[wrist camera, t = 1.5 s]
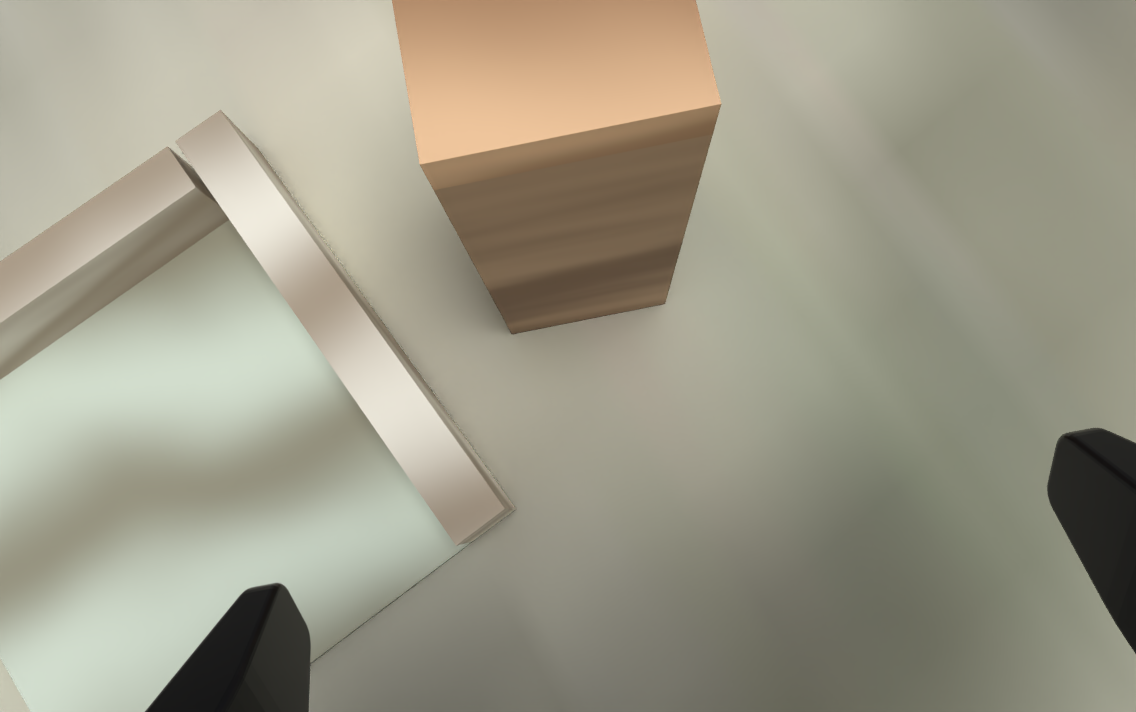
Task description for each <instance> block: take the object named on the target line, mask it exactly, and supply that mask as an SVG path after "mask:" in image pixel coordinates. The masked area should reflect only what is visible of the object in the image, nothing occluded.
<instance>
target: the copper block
mask: <svg viewBox="0 0 1136 712" xmlns="http://www.w3.org/2000/svg"><path fill="white" fill-rule="evenodd" d="M392 3H393V9H394V15H395V21H396V27H397V32H398V38H399V44H400V50H401V56H402V62H403V68H404V74H405V80H406V86H407V92H408V98H409V103H410V109H411V115H412V121H413V127H414V133H415V139H416V145H417V151H418V157H419V163H420V166H421V168H422V169H423V171H424V173H425V175H426V177H427V179H428V180H429V182H430V184H431V186H432V188H433V190H434V192H435V193H436V195H437V197H438V199H439V201H440V203H441V204H442V206H443V208H444V210H445V212H446V214H447V215H448V217H449V219H450V221H451V223H452V225H453V226H454V228H455V230H456V232H457V234H458V236H459V238H460V239H461V241H462V243H463V245H464V247H465V249H466V250H467V252H468V254H469V256H470V258H471V260H472V261H473V263H474V265H475V267H476V269H477V271H478V273H479V274H480V276H481V278H482V280H483V282H484V284H485V285H486V287H487V289H488V291H489V293H490V295H491V296H492V298H493V300H494V302H495V304H496V306H497V308H498V309H499V311H500V313H501V315H502V317H503V319H504V320H505V322H506V324H507V326H508V328H509V330H510V331H511V333H512V334H516V333H521V332H526V331H531V330H536V329H541V328H546V327H551V326H556V325H561V324H566V323H571V322H576V321H581V320H586V319H591V318H596V317H601V316H606V315H611V314H616V313H621V312H626V311H631V310H636V309H641V308H646V307H651V306H656V305H661V304H665V302H666V298H667V295H668V291H669V287H670V284H671V280H672V277H673V273H674V270H675V266H676V263H677V259H678V255H679V252H680V248H681V245H682V241H683V238H684V234H685V231H686V227H687V224H688V220H689V216H690V213H691V209H692V206H693V202H694V199H695V195H696V192H697V188H698V184H699V181H700V177H701V174H702V170H703V167H704V163H705V160H706V156H707V153H708V149H709V145H710V142H711V138H712V135H713V131H714V128H715V124H716V121H717V117H718V113H719V110H720V106H721V101H720V97H719V93H718V89H717V85H716V81H715V77H714V73H713V69H712V65H711V61H710V56H709V52H708V48H707V44H706V40H705V36H704V32H703V28H702V24H701V20H700V16H699V12H698V8H697V4H696V0H392Z"/></svg>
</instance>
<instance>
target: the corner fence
mask: <svg viewBox="0 0 1136 712" xmlns="http://www.w3.org/2000/svg"><path fill="white" fill-rule="evenodd" d="M175 142H176V143H177V145H178V146H179V148H180V149H181V151H182V152H183V153H184V155H185V156H186V158H187V159H188V161H189V162H190V163H191V165H192V166H193V167H192V166H191V165H189V164H188V163H187V162H186V161H184V160H183V159H182V158H181V157H180V156H178V155H177V154H176V153H175V152H174V151H172V150H171V149H170V148H169V147H166V148H164V149H163V150H162V151H160V152H159V153H157V154H156V155H154V156H153V157H151V158H150V159H148V160H147V161H146V162H144V163H143V164H141V165H140V166H138V167H137V168H135V169H134V170H132V171H131V172H130V173H128V174H127V175H125V176H124V177H122V178H121V179H119V180H118V181H117V182H115V183H114V184H112V185H111V186H109V187H108V188H106V189H105V190H103V191H102V192H101V193H99V194H98V195H96V196H95V197H93V198H92V199H90V200H89V201H87V202H86V203H85V204H83V205H82V206H80V207H79V208H77V209H76V210H74V211H73V212H71V213H70V214H69V215H67V216H66V217H64V218H63V219H61V220H60V221H58V222H57V223H55V224H54V225H53V226H51V227H50V228H48V229H47V230H45V231H44V232H42V233H41V234H39V235H38V236H37V237H35V238H34V239H32V240H31V241H29V242H28V243H26V244H25V245H23V246H22V247H21V248H19V249H18V250H16V251H15V252H13V253H12V254H10V255H9V256H7V257H6V258H5V259H3V260H2V261H0V658H1V660H2V662H3V664H4V666H5V667H6V669H7V671H8V673H9V674H10V676H11V678H12V680H13V682H14V683H15V685H16V687H17V689H18V690H19V692H20V694H21V696H22V697H23V699H24V701H25V703H26V705H27V706H28V708H29V710H30V712H145V711H146V709H147V708H148V707H149V706H150V704H151V703H152V702H153V701H154V700H155V698H156V697H157V696H158V695H159V693H160V692H161V691H162V690H163V689H164V687H165V686H166V685H167V684H168V682H169V681H170V680H171V679H172V678H173V676H174V675H175V674H176V673H177V671H178V670H179V669H180V668H181V667H182V665H183V664H184V663H185V662H186V660H187V659H188V658H189V657H190V656H191V654H192V653H193V652H194V651H195V649H196V648H197V647H198V646H199V645H200V643H201V642H202V641H203V640H204V638H205V637H206V636H207V635H208V634H209V632H210V631H211V630H212V629H213V627H214V626H215V625H216V624H217V623H218V621H219V620H220V619H221V618H222V616H223V615H224V614H225V613H226V612H227V610H228V609H229V608H230V607H231V605H232V604H233V603H234V602H235V601H236V599H237V598H238V597H239V596H240V595H241V594H242V593H243V592H244V591H245V590H246V589H248V588H251V587H256V586H261V585H266V584H272V583H281V584H283V585H284V586H286V588H287V589H288V591H289V592H290V594H291V596H292V598H293V600H294V602H295V604H296V605H297V607H298V609H299V611H300V613H301V615H302V617H303V618H304V620H305V622H306V624H307V627H308V630H309V633H310V640H311V658H310V663H312V662H313V661H314V660H316V659H317V658H318V657H320V656H321V655H322V654H324V653H325V652H326V651H328V650H329V649H330V648H332V647H333V646H334V645H336V644H337V643H338V642H340V641H341V640H342V639H344V638H345V637H346V636H348V635H349V634H350V633H352V632H353V631H354V630H356V629H357V628H358V627H360V626H361V625H362V624H364V623H365V622H366V621H368V620H369V619H370V618H372V617H373V616H374V615H376V614H377V613H378V612H380V611H381V610H382V609H384V608H385V607H386V606H388V605H389V604H390V603H392V602H393V601H394V600H396V599H397V598H398V597H400V596H401V595H402V594H403V593H405V592H406V591H407V590H409V589H410V588H411V587H413V586H414V585H415V584H417V583H418V582H419V581H421V580H422V579H423V578H425V577H426V576H427V575H429V574H430V573H431V572H433V571H434V570H435V569H437V568H438V567H439V566H441V565H442V564H443V563H445V562H446V561H447V560H449V559H450V558H451V557H453V556H454V555H455V554H457V553H458V552H459V551H461V550H462V549H463V548H465V547H466V546H467V545H469V544H470V543H471V542H473V541H474V540H475V539H477V538H478V537H479V536H481V535H482V534H483V533H485V532H486V531H487V530H489V529H490V528H491V527H493V526H494V525H495V524H497V523H498V522H499V521H501V520H502V519H503V518H505V517H506V516H507V515H509V514H510V513H511V512H512V511H514V510H515V509H516V508H515V507H514V505H513V504H512V503H511V501H510V500H509V498H508V497H507V496H506V494H505V493H504V491H503V490H502V489H501V487H500V486H499V484H498V483H497V482H496V480H495V479H494V477H493V476H492V475H491V473H490V472H489V470H488V469H487V468H486V466H485V465H484V463H483V462H482V461H481V459H480V458H479V456H478V455H477V454H476V452H475V451H474V449H473V448H472V447H471V445H470V444H469V443H468V441H467V440H466V438H465V437H464V436H463V434H462V433H461V431H460V430H459V429H458V427H457V426H456V424H455V423H454V422H453V420H452V419H451V417H450V416H449V415H448V413H447V412H446V410H445V409H444V408H443V406H442V405H441V403H440V402H439V401H438V399H437V398H436V396H435V395H434V394H433V392H432V391H431V389H430V388H429V387H428V385H427V384H426V383H425V381H424V380H423V378H422V377H421V376H420V374H419V373H418V371H417V370H416V369H415V367H414V366H413V364H412V363H411V362H410V360H409V359H408V357H407V356H406V355H405V353H404V352H403V350H402V349H401V348H400V346H399V345H398V343H397V342H396V341H395V339H394V338H393V336H392V335H391V334H390V332H389V331H388V329H387V328H386V327H385V325H384V324H383V323H382V321H381V320H380V318H379V317H378V316H377V314H376V313H375V311H374V310H373V309H372V307H371V306H370V304H369V303H368V302H367V300H366V299H365V297H364V296H363V295H362V293H361V292H360V290H359V289H358V288H357V286H356V285H355V283H354V282H353V281H352V279H351V278H350V276H349V275H348V274H347V272H346V271H345V270H344V268H343V267H342V265H341V264H340V263H339V261H338V260H337V258H336V257H335V256H334V254H333V253H332V251H331V250H330V249H329V247H328V246H327V244H326V243H325V242H324V240H323V239H322V237H321V236H320V235H319V233H318V232H317V230H316V229H315V228H314V226H313V225H312V223H311V222H310V221H309V219H308V218H307V216H306V215H305V214H304V212H303V211H302V210H301V208H300V207H299V205H298V204H297V203H296V201H295V200H294V198H293V197H292V196H291V194H290V193H289V191H288V190H287V189H286V187H285V186H284V184H283V183H282V182H281V180H280V179H279V177H278V176H277V175H276V173H275V172H274V170H273V169H272V168H271V166H270V165H269V163H268V162H267V161H266V159H265V158H264V156H263V155H262V154H261V152H260V151H259V150H258V148H257V147H256V146H255V145H254V144H253V143H252V142H251V141H250V140H249V139H248V138H247V137H246V136H245V135H244V134H243V133H242V132H241V131H240V130H239V129H238V128H237V127H236V126H235V125H234V124H233V122H232V121H231V120H230V119H229V118H228V117H227V116H226V115H225V114H224V113H223V112H222V111H221V110H220V111H218V112H217V113H215V114H214V115H212V116H211V117H210V118H208V119H207V120H205V121H204V122H202V123H201V124H199V125H198V126H196V127H195V128H194V129H192V130H191V131H189V132H188V133H186V134H185V135H183V136H182V137H180V138H179V139H178V140H176V141H175Z"/></svg>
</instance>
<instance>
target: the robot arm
mask: <svg viewBox="0 0 1136 712" xmlns="http://www.w3.org/2000/svg"><path fill="white" fill-rule="evenodd" d="M1047 491H1048V497H1049V501H1050V504H1051V506H1052V508H1053V510H1054V512H1055V514H1056V516H1057V518H1058V519H1059V521H1060V523H1061V525H1062V527H1063V529H1064V530H1065V532H1066V534H1067V536H1068V538H1069V540H1070V542H1071V543H1072V545H1073V547H1074V549H1075V551H1076V553H1077V554H1078V556H1079V558H1080V560H1081V562H1082V564H1083V566H1084V567H1085V569H1086V571H1087V573H1088V575H1089V577H1090V578H1091V580H1092V582H1093V584H1094V586H1095V588H1096V590H1097V591H1098V593H1099V595H1100V597H1101V599H1102V601H1103V602H1104V604H1105V606H1106V608H1107V609H1108V611H1109V613H1110V615H1111V616H1112V618H1113V620H1114V621H1115V623H1116V625H1117V626H1118V628H1119V629H1120V631H1121V632H1122V634H1123V635H1124V637H1125V638H1126V640H1127V642H1128V643H1129V645H1130V646H1131V647H1132V649H1133V650H1134V652H1135V653H1136V443H1135V442H1132V441H1130V440H1128V439H1126V438H1123V437H1121V436H1119V435H1117V434H1114V433H1112V432H1110V431H1107V430H1105V429H1101V428H1090V429H1085V430H1080V431H1074V432H1069V433H1065V434H1063V435H1062V436H1061V437H1060V438H1059V439H1058V441H1057V444H1056V448H1055V453H1054V457H1053V462H1052V466H1051V471H1050V475H1049V480H1048V485H1047ZM310 658H311V640H310V633H309V630H308V627H307V624H306V622H305V620H304V618H303V617H302V615H301V613H300V611H299V609H298V607H297V605H296V604H295V602H294V600H293V598H292V596H291V594H290V592H289V591H288V589H287V588H286V586H284V585H283V584H281V583H272V584H266V585H261V586H256V587H251V588H248V589H246V590H245V591H244V592H243V593H242V594H241V595H240V596H239V597H238V598H237V599H236V601H235V602H234V603H233V604H232V605H231V607H230V608H229V609H228V610H227V612H226V613H225V614H224V615H223V616H222V618H221V619H220V620H219V621H218V623H217V624H216V625H215V626H214V627H213V629H212V630H211V631H210V632H209V634H208V635H207V636H206V637H205V638H204V640H203V641H202V642H201V643H200V645H199V646H198V647H197V648H196V649H195V651H194V652H193V653H192V654H191V656H190V657H189V658H188V659H187V660H186V662H185V663H184V664H183V665H182V667H181V668H180V669H179V670H178V671H177V673H176V674H175V675H174V676H173V678H172V679H171V680H170V681H169V682H168V684H167V685H166V686H165V687H164V689H163V690H162V691H161V692H160V693H159V695H158V696H157V697H156V698H155V700H154V701H153V702H152V703H151V704H150V706H149V707H148V708H147V709H146V711H145V712H308V711H309V684H310Z"/></svg>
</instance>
